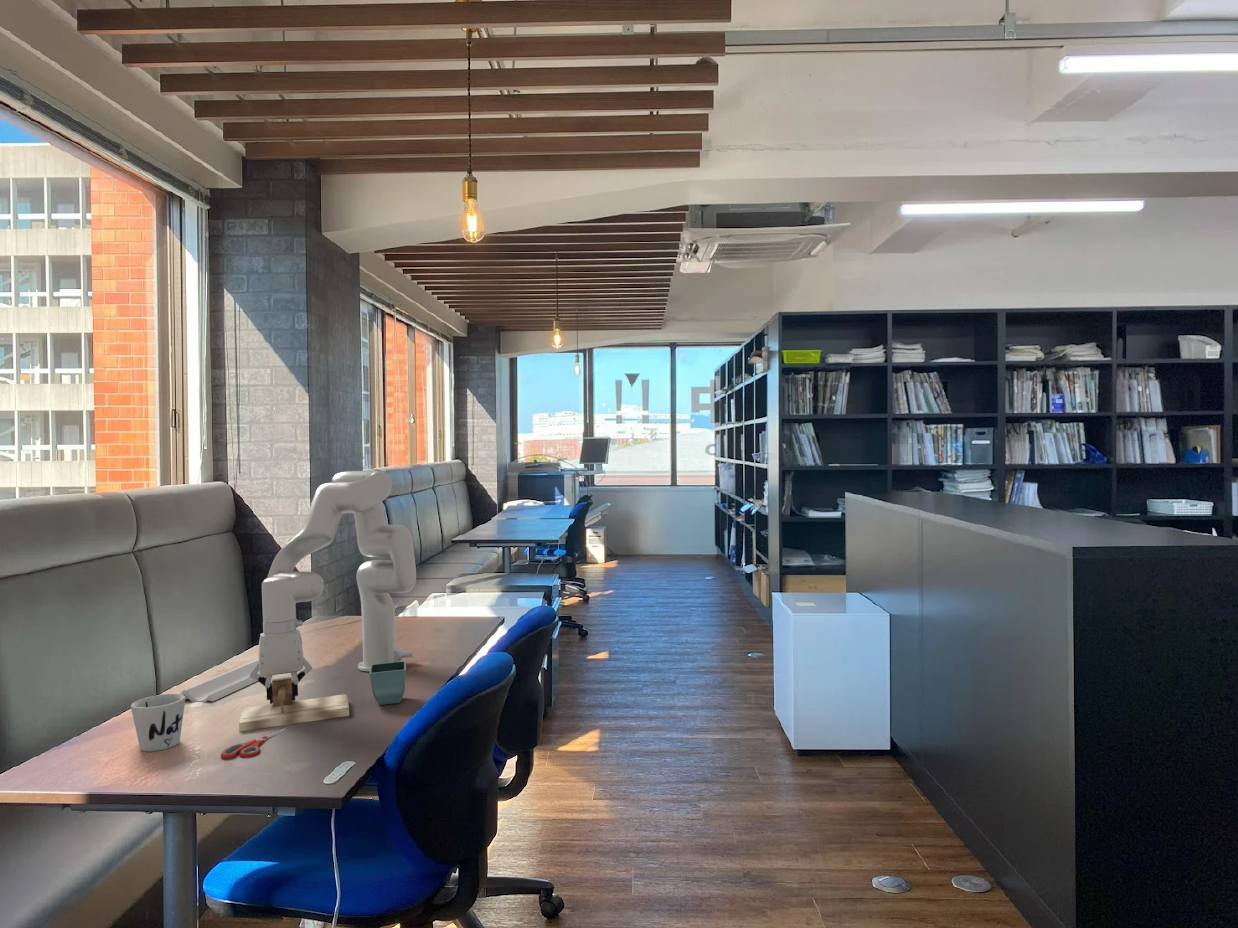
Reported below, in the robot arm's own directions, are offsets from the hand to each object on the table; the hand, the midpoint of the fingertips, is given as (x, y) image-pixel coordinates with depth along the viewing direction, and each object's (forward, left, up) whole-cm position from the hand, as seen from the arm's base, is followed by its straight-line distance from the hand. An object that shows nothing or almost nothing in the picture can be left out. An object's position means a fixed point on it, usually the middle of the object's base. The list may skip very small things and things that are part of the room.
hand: (282, 699), depth 196 cm
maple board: (-3, +5, -3) cm, 6 cm away
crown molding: (+14, -34, -4) cm, 37 cm away
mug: (+26, +11, -3) cm, 28 cm away
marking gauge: (0, +4, -2) cm, 4 cm away
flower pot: (-25, +4, -3) cm, 25 cm away
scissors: (+5, +20, -4) cm, 21 cm away
